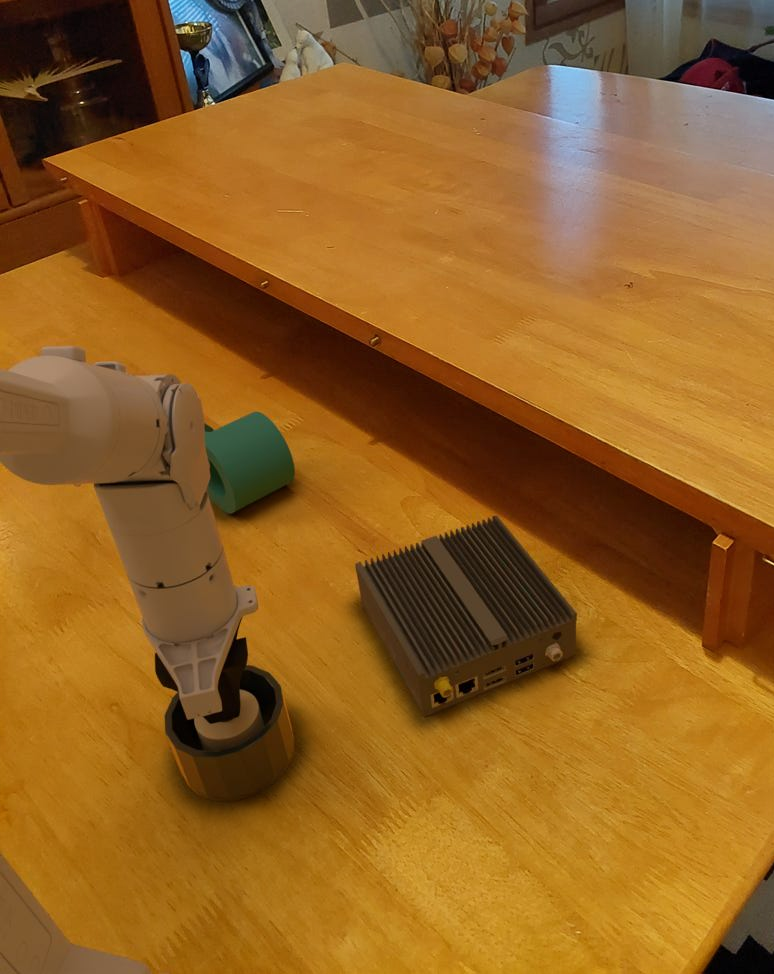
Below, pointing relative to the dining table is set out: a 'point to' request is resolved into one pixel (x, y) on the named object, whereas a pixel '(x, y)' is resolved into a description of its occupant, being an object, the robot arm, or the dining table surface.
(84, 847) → the dining table surface
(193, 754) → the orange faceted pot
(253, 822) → the dining table surface
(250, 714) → the brush
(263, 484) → the tape dispenser
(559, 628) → the electronic device
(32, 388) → the robot arm
